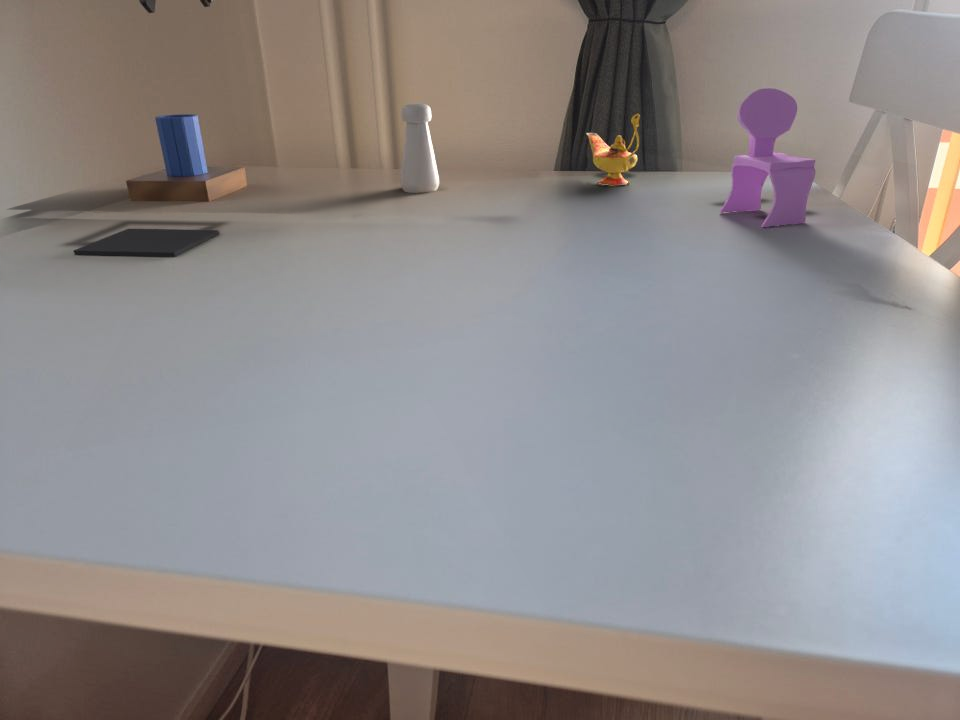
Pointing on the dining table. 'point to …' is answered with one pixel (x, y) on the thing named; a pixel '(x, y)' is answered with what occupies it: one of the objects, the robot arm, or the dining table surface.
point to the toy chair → (770, 161)
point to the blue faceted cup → (181, 145)
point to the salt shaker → (418, 151)
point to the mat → (147, 242)
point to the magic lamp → (614, 156)
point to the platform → (187, 185)
